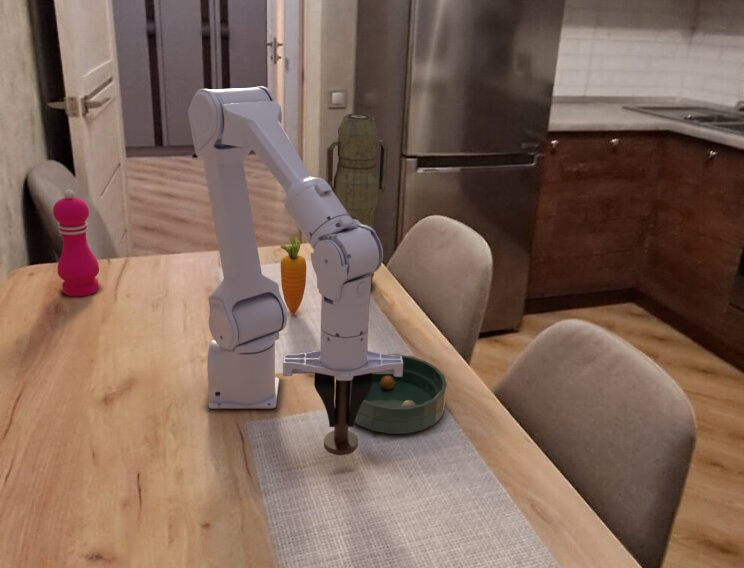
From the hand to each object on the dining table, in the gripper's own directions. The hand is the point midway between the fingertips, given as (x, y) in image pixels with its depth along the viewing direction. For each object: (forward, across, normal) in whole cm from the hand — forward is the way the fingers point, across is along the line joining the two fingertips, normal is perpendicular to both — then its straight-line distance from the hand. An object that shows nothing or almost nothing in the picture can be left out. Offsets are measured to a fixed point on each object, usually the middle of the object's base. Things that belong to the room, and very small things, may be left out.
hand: (341, 422), depth 85 cm
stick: (+3, 0, 0) cm, 3 cm away
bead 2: (+4, +10, +9) cm, 14 cm away
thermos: (+6, +3, +57) cm, 57 cm away
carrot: (+6, -8, +43) cm, 44 cm away
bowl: (+5, +8, +12) cm, 15 cm away
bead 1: (+4, +7, +16) cm, 18 cm away
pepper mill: (+6, -49, +52) cm, 72 cm away
